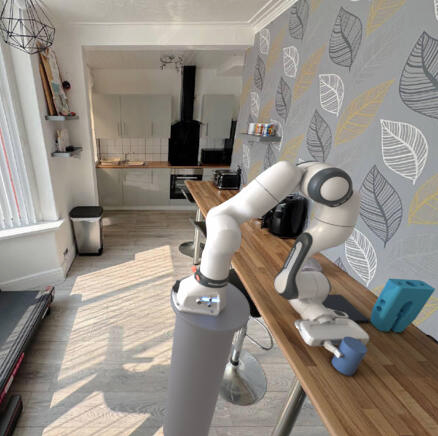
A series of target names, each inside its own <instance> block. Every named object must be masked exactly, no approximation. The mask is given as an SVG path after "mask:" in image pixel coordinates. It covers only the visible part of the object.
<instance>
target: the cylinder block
mask: <svg viewBox="0 0 438 436" xmlns="http://www.w3.org/2000/svg"><path fill="white" fill-rule="evenodd" d="M337 349H340V350H341V351H342V352H343V353H344V356H343V358H337V357H336V355H335V354H334V355H333V357H332V359H331V364H332V367H334V368H335V370H337V371H338V372H339V373H341V374H342V375H345V376H349V377H350V376H353V375H354V374H355V372H356V371H357V369H358V367H359V366H360V364H361V362H362V361H363V359H364V358H365V357H366V356H365V354H366V355H367V352H368V348H367V345H364V344H363V343H362V342H360V341H359V340H357V339H355V338H353V337H348V336H347V337H344V338H343V340H342V342H341V344H340V346H338V348H337ZM364 356H365V357H364Z"/></svg>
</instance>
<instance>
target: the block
mask: <svg viewBox="0 0 438 436" xmlns="http://www.w3.org/2000/svg"><path fill="white" fill-rule="evenodd" d="M435 290H436V288H435V287H433V286H432V285H430V284H428V283H426V282H425V281H423V280H420V279H406V278H405V279H403V278H388V280H387V281H386V283H385V285H384V287H383V289H382V290H381V292H380V294H379V295H378V298H377V299H376V301H375V302H374V305H373V306H372V309H371V315H370V319H369V322H370V323H371V324H372V325H373V326H374V327H375V328H376V329H377V330H378V331H380V332H390V331H391V330H392V331H393V332H394V333H403V331H405V330H406V329H407V328H408V327H409V326H410V325H411V324H412V323H413V322H414V321H415V320H416V319H417V317H418V316H419V314H420V313H421V311H422V310H423V309H424V307H425V306H426V304H427V303H428V301H429V299H430V298H431V296H432V295H433V293H434V292H435Z"/></svg>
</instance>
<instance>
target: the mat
mask: <svg viewBox="0 0 438 436" xmlns="http://www.w3.org/2000/svg"><path fill="white" fill-rule="evenodd" d="M322 304H323V305H324V306H325V307H326V308H329V309H332V310H336V311H340V312H344V313H346V314H347V315H348V316H349V317H348V319H350V320H352V321H354V322H355V323H368V322H370V319H369V318H368V317H367V316H365V315H364V313H362V312H361V311H360V310H358V308H356V307H355V306H354V305H353V304H352V303H350V302H349V300H347V299H346V298H345V297H344V296H343V295H341V294H329V295H328V297H327V298H326V300H325V301H324V302H322Z"/></svg>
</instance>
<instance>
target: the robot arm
mask: <svg viewBox="0 0 438 436" xmlns="http://www.w3.org/2000/svg"><path fill="white" fill-rule="evenodd" d="M353 184H354V183H353V179H352V178H351V176H350V175H349V174H348V173H347V172H346V171H345V170H344V169H342V168H339V167H336V166H334V165H332V164H330V163H327V162H323V161H318V160H305V161H303V162H299V163H294V162H292V161H290V160H280V161H278V162H276V163H275V164H273V165H271V166H269V167H268V168H267V169H265V170H264V171H262V172H261V173H260V174H259V175H257V176H256V177H255V178H254V179H253V180H252V181H251V182H249V183H248V184H247V185H246V186H244V188H242V190H240V191H239V192H238V193H237V194H235V195H233V196H232V197H231V198H229V199H227V200H226V201H224V202H223V203H221V204H219V205H215V206H213V207H211V208H210V209H209V211H208V212H207V214H206V217H205V227H206V241H205V245H204V248H203V250H202V254H201V260H200V266H198V268H197V266H196V265H193V266H191V270H192V272H193V273H194V274H191V275H192V276H191V275H189V276H190V277H188V278H186V279H184V280H182V281H180V279H176V281H175V283H174V284H175V285H174V284H173V285H172V287H171V290H172V289H173V293H172V297H173V301H174V304H175V306H176V307H177V309H178V310H179V311H182V312H188V313H196V314H203V315H210V316H218V315H219V313H220V311H221V310H223V309H224V308H225V307H226V304H227V301H226V286H227V284H228V283H229V279H230V269H231V265H232V260H233V259H234V255H235V254H236V252H237V251H238V250H239V249H240V247H241V245H242V238H243V237H242V231H241V228H240V226H241V225H243V224H245V223H247V222H250V221H251V220H259V219H260V218H262V217H264V215H266V214H268V212H269V211H271V210H272V209H273V208H276V206H277V205H279V203H281V202H282V201H284V199H286V198H287V197H289V196H290V195H292V194H295V193H297V192H300V194H302V195H303V196H304V197H307V198H309V199H311V200H312V201H313V202H315V203H316V209H315V212H314V215H313V217H312V220H311V222H310V224H309V225H308V227H307V228H306V229H305V230H304V231H303V232H302V233H300V234H299V235H298V236H297V237H296V239H295V241H294V242H293V244H292V246H291V248H290V251H289V253H288V254H287V257H286V259H285V261H284V263H283V265H282V266H281V268H280V270H279V271H278V272H277V274H276V275H275V277H274V280H273V287H274V290H275V291H276V293H277V294H278V295H279V296H280V297H281V298H283V299H285V300H287V301H288V303H289V304H290V306H291V307H292V308H293V310H294V311H295V312H296V313H298V314H299V315H300V318H301V319H299V318H297V319H295V320H294V322H293V325H294V327H296V329H297V330H298V333H299V334H300V336H301V338H302V339H303V341H304V342H305V344H306V345H308V346H310V347H324V348H325V349H326V350H328V351H329V352H330V353H333V354H334V355H336V357H337V358H343V356H344V353H343V352H342V351H341V350H340V349H338V348H337V347H339V346H340V344H341V342H342V340H343V338H344V337H347V336H348V337H353V338H355V339H357V340H359V341H360V342H362V343H363V344H364V345H365V346H367V344H368V342H369V341H370V335H369V334H368V333H367V332H366V331H365V330H364V328H362V326H360V325H359V324H358V323H357V322H354V321H352V320H350V319H348V317H349V316H348V315H347V314H346V313H344V312H340V311H336V310H332V309H329V308H326V307H325V306H324V305H323V304H322V302H324V301H325V300H326V298H327V297H328V295H330V293H331V290H332V284H331V281H330V280H329V278H328V277H327V276H326V275H325V274H324V273H323V272H318V271H317V272H316V271H305V272H303V271H302V270H303V268H304V266H305V264H306V262H307V260H308V259H309V258H310V257H311V258H312V256H314V255H315V254H318V253H320V252H322V251H326V250H328V249H332V248H336V247H339V246H342V245H344V244H345V243H347V241H348V240H349V239H350V237H351V236H352V235H353V232H354V230H355V227H356V224H357V222H358V218H359V215H360V211H361V205H362V194H361V193H360V192H359V191H358V190H357V189H354V188H353ZM366 356H367V353H366V354H365V356H364V358H365V357H366Z"/></svg>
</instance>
